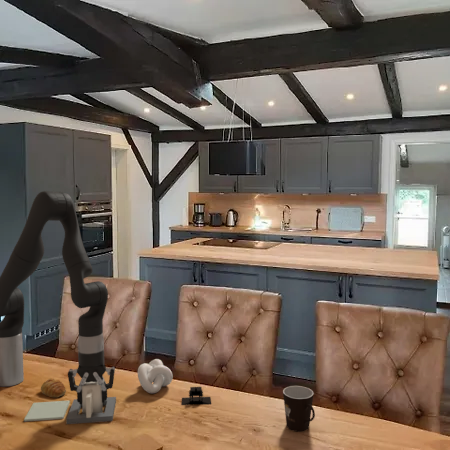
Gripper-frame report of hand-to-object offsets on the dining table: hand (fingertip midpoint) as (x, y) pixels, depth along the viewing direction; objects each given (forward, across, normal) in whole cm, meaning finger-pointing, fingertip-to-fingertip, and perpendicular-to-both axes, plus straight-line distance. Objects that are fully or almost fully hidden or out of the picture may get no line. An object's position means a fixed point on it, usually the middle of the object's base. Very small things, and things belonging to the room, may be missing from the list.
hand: (92, 402), depth 142 cm
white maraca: (+3, 0, +3) cm, 4 cm away
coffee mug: (+3, -59, +19) cm, 62 cm away
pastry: (+4, +14, -17) cm, 22 cm away
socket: (+3, 0, 0) cm, 3 cm away
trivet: (+3, +14, -2) cm, 14 cm away
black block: (+4, -32, -3) cm, 32 cm away
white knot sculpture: (+3, -18, -14) cm, 23 cm away
